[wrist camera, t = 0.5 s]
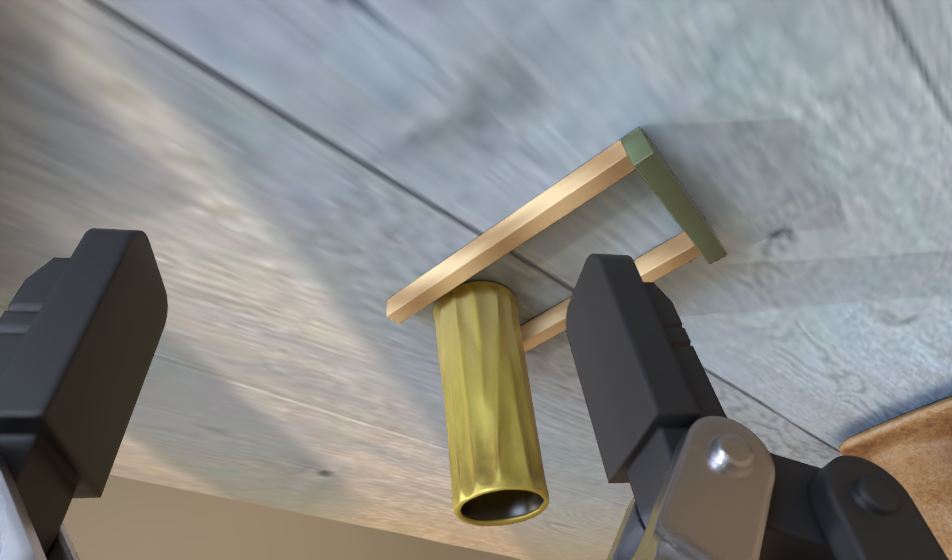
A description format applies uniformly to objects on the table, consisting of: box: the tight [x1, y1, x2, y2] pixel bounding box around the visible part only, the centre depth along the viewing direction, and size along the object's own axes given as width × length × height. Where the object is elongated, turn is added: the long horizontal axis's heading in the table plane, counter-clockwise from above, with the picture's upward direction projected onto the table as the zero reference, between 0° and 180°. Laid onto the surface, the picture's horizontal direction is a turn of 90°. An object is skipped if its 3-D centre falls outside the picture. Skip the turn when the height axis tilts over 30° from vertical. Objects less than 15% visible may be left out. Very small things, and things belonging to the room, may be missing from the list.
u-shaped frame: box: [387, 127, 727, 353], centre depth 36 cm, size 20×10×2 cm, turn 130°
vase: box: [433, 281, 549, 526], centre depth 35 cm, size 6×6×14 cm
